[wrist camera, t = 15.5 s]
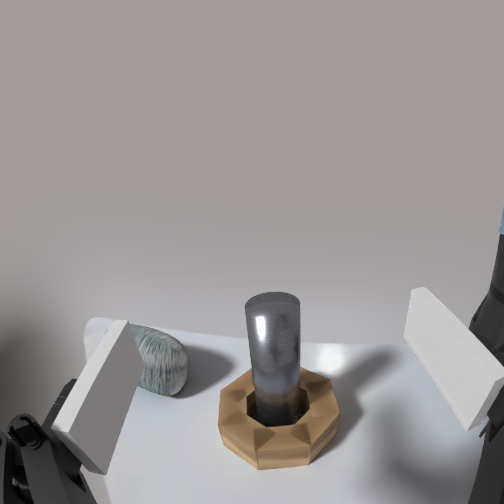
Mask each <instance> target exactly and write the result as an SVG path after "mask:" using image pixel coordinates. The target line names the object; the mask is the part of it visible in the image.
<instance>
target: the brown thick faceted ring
mask: <svg viewBox="0 0 504 504" xmlns="http://www.w3.org/2000/svg"><path fill="white" fill-rule="evenodd" d="M299 410H301V411H303V412H305V415H304V416H303V417H302V418H301V419H300V420H299V421H298V422H297V423H296V424H295V425H288V426H278V427H267V428H266V427H265V426H263V425H262V424H260V423H258V422H257V421H255V420H254V419H252V418H251V417H252V416H253V415H255V414H256V413H257V406H256V398H255V390H254V382H253V373H252V368H251V369H250V370H249V371H247V372H246V373H245V374H243V375H242V376H240V377H239V378H238V379H236V380H235V381H233V382H232V383H231V384H229V385H228V386H226V387H225V388H223V389H222V390H221V394H220V406H219V419H218V427H219V431H220V434H221V437H222V441H223V444H224V445H225V446H226V447H227V448H229V449H230V450H231V451H233V452H234V453H235V454H237V455H238V456H239V457H241V458H242V459H244V460H245V461H246V462H248V463H249V464H251V465H252V466H253V467H255V468H256V469H258V470H264V469H276V468H286V467H295V466H302V465H309V464H310V463H311V461H312V460H313V459H314V458H315V457H316V456H317V455H318V454H319V453H320V452H321V450H322V449H323V448H324V447H325V446H326V445H327V444H328V442H329V441H330V440H331V439H332V438H333V437H334V435H335V434H336V432H337V427H338V422H339V417H340V410H339V407H338V404H337V401H336V398H335V395H334V392H333V389H332V386H331V382H330V379H327V378H324V377H322V376H320V375H317V374H315V373H313V372H311V371H308V370H306V369H304V368H302V367H300V398H299Z"/></svg>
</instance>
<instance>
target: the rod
mask: <svg viewBox="0 0 504 504" xmlns="http://www.w3.org/2000/svg"><path fill="white" fill-rule="evenodd" d="M245 313H246V322H247V331H248V340H249V348H250V357H251V365H252V373H253V382H254V390H255V398H256V406H257V414H258V422H259V423H260V424H262V425H263V426H265V427H266V428H267V427H278V426H288V425H295V424H296V423H297V422H298V421H299V398H300V301H299V300H298V298H296V297H295V296H293V295H291V294H288V293H283V292H267V293H262V294H259V295H256V296H254V297H252V298H250V299H249V300H248V301H247V302H246V304H245Z"/></svg>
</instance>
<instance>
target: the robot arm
mask: <svg viewBox="0 0 504 504" xmlns="http://www.w3.org/2000/svg"><path fill="white" fill-rule="evenodd" d="M499 233H500V238H499V244H498V251H497V256H496V261H495V266H494V271H493V275H492V280H491V285H490V288H489V291H488V293H487V295H486V296H485V298H484V300H483V302H482V303H481V305H480V306H479V308H478V309H477V311H476V313H475V314H474V316H473V318H472V320H471V323H470V326H469V329H468V328H467V327H466V326H465V325H464V324H463V323H462V322H461V321H460V320H459V319H457V317H456V316H455V315H454V314H453V313H452V312H451V311H450V310H449V309H447V307H445V306H444V305H443V304H442V303H441V302H440V301H439V300H438V299H437V298H436V297H435V296H434V295H433V294H432V293H431V292H429V290H427V289H426V288H425V287H422V288H416V289H412V291H411V298H410V304H409V310H408V316H407V321H406V326H405V331H404V336H403V337H404V338H405V340H406V341H407V342H408V344H409V345H410V347H411V348H412V349H413V351H414V352H415V354H416V355H417V357H418V358H419V359H420V361H421V362H422V364H423V365H424V367H425V368H426V370H427V371H428V373H429V374H430V375H431V377H432V378H433V380H434V381H435V383H436V384H437V386H438V387H439V389H440V391H441V392H442V394H443V395H444V397H445V398H446V400H447V401H448V403H449V405H450V406H451V408H452V409H453V411H454V412H455V414H456V416H457V417H458V419H459V421H460V422H461V424H462V425H463V427H464V429H465V430H466V431H468V430H470V429H472V428H474V427H476V426H478V425H480V424H481V422H482V421H483V419H484V418H485V416H486V415H487V416H488V417H489V419H490V420H489V421H488V423H487V424H486V426H485V427H484V429H483V430H482V432H481V433H480V436H479V437H482V436H483V434H484V433H485V431H486V434H485V437H484V438H485V439H484V445H483V450H482V455H481V459H480V464H479V468H478V472H477V476H476V479H475V483H474V486H473V490H472V493H471V496H470V500H469V503H468V504H504V209H503V215H502V221H501V226H500V228H499ZM144 367H145V364H144V362H143V359H142V357H141V354H140V351H139V349H138V346H137V343H136V341H135V338H134V335H133V332H132V330H131V327H130V324H129V321H128V320H115V321H113V323H112V324H111V326H110V328H109V329H108V331H107V332H106V334H105V335H104V337H103V339H102V340H101V342H100V343H99V345H98V347H97V348H96V350H95V351H94V353H93V355H92V356H91V358H90V360H89V361H88V363H87V365H86V366H85V368H84V370H83V371H82V373H81V375H80V376H79V378H78V379H72V380H71V381H70V382H69V383H67V384H66V385H65V386H64V388H63V390H62V391H61V393H60V395H59V397H58V398H57V400H56V401H55V404H54V405H53V407H52V408H51V410H50V412H49V414H48V416H47V417H46V419H45V421H44V423H43V425H42V426H40V425H39V424H38V423H37V421H36V420H35V419H34V417H32V416H31V415H30V414H21V415H18V416H16V417H14V418H13V419H12V420H11V421H10V423H9V425H8V430H7V433H8V434H9V435H10V436H11V437H12V438H13V439H9V438H8V437H7V436H6V435H5V433H3V432H2V431H0V504H97V503H96V501H95V499H94V497H93V495H92V493H91V491H90V489H89V486H88V484H87V482H86V480H85V478H84V476H83V474H82V473H81V471H80V467H81V465H82V464H83V466H84V467H85V468H86V469H87V470H88V471H90V472H93V473H97V474H102V475H106V474H107V471H108V468H109V465H110V462H111V459H112V455H113V452H114V449H115V446H116V443H117V440H118V438H119V435H120V432H121V429H122V426H123V423H124V420H125V417H126V415H127V412H128V409H129V406H130V404H131V401H132V398H133V395H134V393H135V390H136V387H137V385H138V382H139V380H140V377H141V374H142V372H143V369H144ZM12 478H13V479H14V480H15V484H14V485H13V484H12Z"/></svg>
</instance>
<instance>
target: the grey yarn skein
mask: <svg viewBox="0 0 504 504" xmlns="http://www.w3.org/2000/svg"><path fill="white" fill-rule="evenodd" d="M130 327H131V330H132V332H133V335H134V338H135V341H136V343H137V346H138V349H139V351H140V354H141V357H142V359H143V362H144V364H145V367H144V369H143V372H142V374H141V377H140V380H139V382H138V385H137V386H139V387H141V388H144V389H146V390H148V391H150V392H153V393H156V394H159V395H164V396H171V395H174V394H176V393H177V392H179V391H180V390H181V388H182V387H183V386H184V384H185V382H186V379H187V373H188V355H187V351H186V349H185V348H184V346H183V345H182V344H181V342H179V341H178V340H177V339H176V338H174V337H172V336H170V335H169V334H167V333H164V332H161V331H159V330H156V329H153V328H149V327H145V326H140V325H134V324H130ZM107 331H108V330H107ZM107 331H106V332H107ZM105 334H106V333H105Z"/></svg>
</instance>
